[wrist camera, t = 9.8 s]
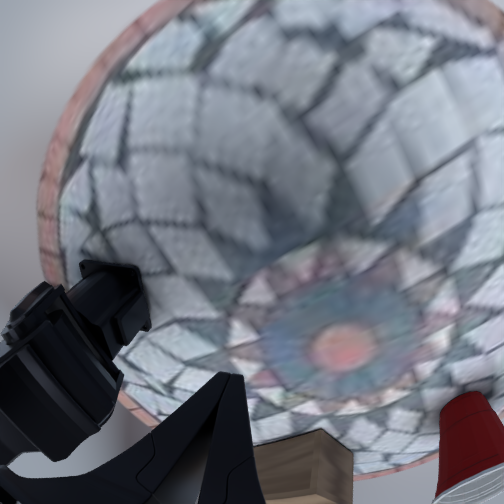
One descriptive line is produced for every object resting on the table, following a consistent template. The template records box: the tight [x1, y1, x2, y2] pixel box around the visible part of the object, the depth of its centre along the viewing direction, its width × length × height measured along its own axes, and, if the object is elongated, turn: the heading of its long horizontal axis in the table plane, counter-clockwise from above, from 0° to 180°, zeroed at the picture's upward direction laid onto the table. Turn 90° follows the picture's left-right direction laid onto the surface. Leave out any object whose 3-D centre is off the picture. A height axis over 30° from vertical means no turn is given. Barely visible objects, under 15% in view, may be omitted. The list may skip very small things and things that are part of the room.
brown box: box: [253, 430, 353, 504], centre depth 27 cm, size 8×11×8 cm
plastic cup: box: [432, 391, 504, 504], centre depth 19 cm, size 11×11×12 cm
